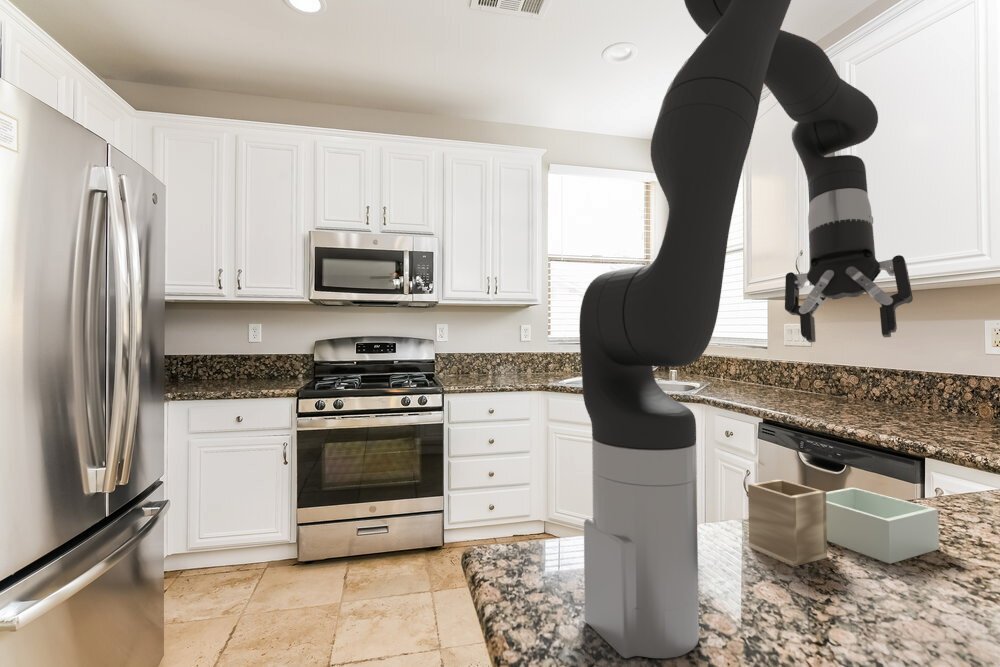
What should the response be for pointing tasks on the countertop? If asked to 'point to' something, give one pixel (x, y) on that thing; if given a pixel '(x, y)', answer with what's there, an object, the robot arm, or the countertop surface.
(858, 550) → the sage crate
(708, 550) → the countertop surface
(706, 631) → the countertop surface
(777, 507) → the birch crate
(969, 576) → the countertop surface
